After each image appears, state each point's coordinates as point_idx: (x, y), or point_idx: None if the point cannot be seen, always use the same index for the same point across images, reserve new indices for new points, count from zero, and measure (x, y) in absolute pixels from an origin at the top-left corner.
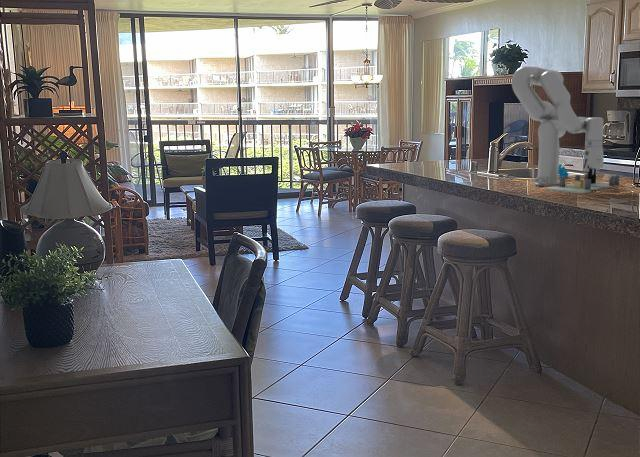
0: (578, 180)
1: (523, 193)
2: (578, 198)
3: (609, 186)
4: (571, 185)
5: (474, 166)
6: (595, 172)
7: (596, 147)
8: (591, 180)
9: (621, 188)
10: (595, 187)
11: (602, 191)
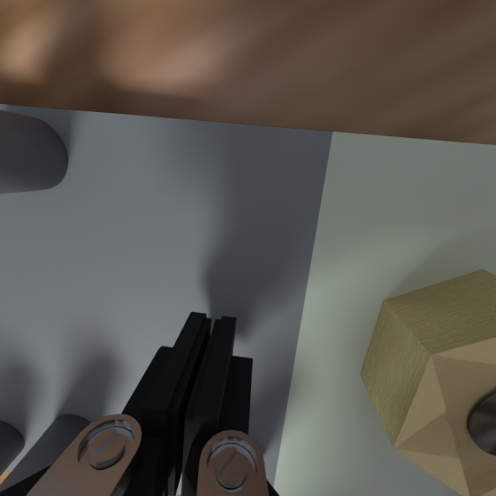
0: (469, 466)
1: None
2: None
3: (140, 129)
4: (335, 465)
5: None
6: (120, 484)
7: None
8: (251, 367)
9: (15, 13)
10: (359, 224)
11: (480, 63)
